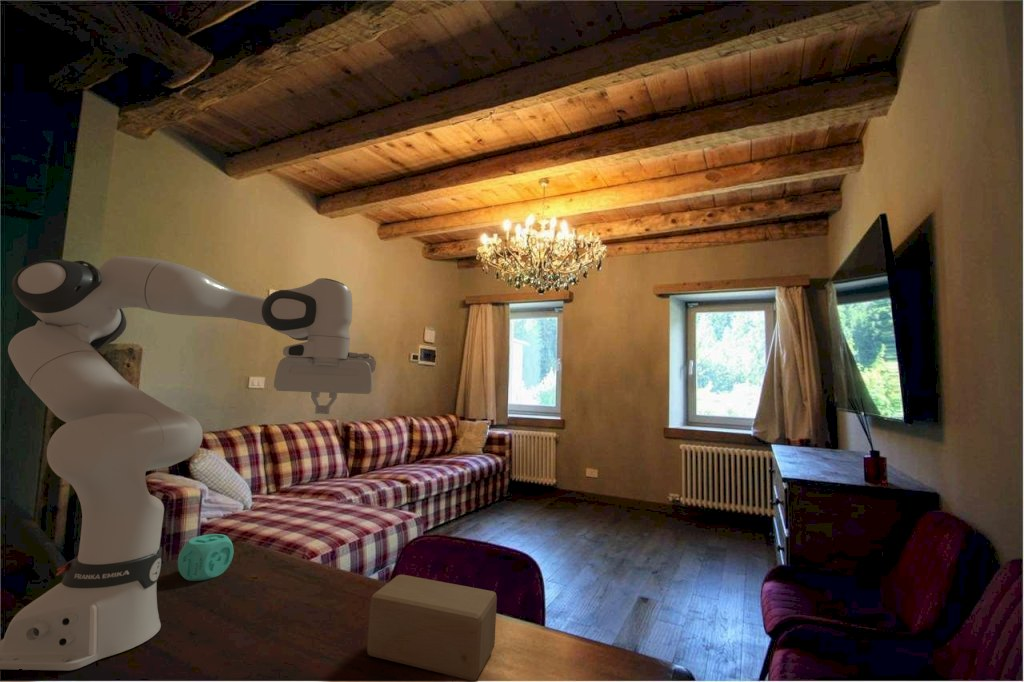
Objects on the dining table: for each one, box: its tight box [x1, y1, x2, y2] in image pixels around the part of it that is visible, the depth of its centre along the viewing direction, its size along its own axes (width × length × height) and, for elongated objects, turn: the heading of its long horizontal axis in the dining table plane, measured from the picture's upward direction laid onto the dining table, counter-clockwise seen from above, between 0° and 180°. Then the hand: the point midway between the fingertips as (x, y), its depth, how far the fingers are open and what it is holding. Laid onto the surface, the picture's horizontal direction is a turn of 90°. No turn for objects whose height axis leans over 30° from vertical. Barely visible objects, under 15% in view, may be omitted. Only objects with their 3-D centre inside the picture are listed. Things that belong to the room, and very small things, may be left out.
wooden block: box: [366, 574, 498, 681], centre depth 78 cm, size 10×10×20 cm
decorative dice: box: [177, 533, 235, 582], centre depth 107 cm, size 8×8×8 cm
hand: (322, 413), depth 99 cm, fingers closed
